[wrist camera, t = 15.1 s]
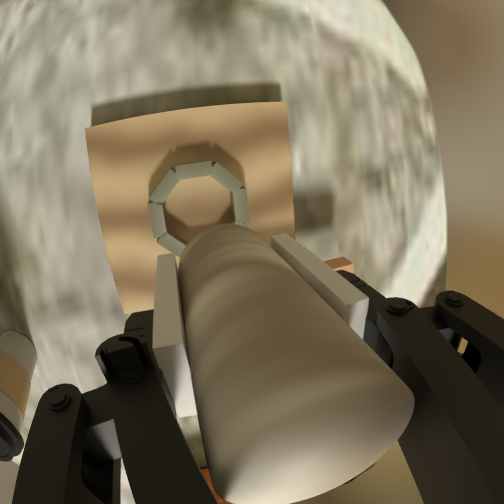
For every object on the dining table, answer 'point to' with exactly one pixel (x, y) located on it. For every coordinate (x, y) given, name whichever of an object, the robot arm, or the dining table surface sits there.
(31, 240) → the dining table surface
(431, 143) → the dining table surface
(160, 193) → the stool seat
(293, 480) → the leg peg
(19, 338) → the coffee cup
